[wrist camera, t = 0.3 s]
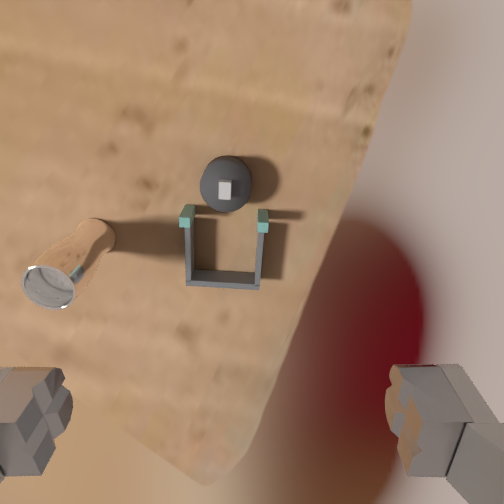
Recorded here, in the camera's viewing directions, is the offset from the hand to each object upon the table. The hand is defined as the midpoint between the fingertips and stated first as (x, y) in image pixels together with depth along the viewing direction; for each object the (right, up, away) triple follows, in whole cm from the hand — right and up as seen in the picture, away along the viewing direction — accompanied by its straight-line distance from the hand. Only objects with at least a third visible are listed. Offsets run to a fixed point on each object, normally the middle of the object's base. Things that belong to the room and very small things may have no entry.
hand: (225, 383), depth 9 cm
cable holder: (-4, +4, +50) cm, 50 cm away
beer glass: (-24, +6, +49) cm, 55 cm away
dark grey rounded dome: (-3, +14, +45) cm, 47 cm away
